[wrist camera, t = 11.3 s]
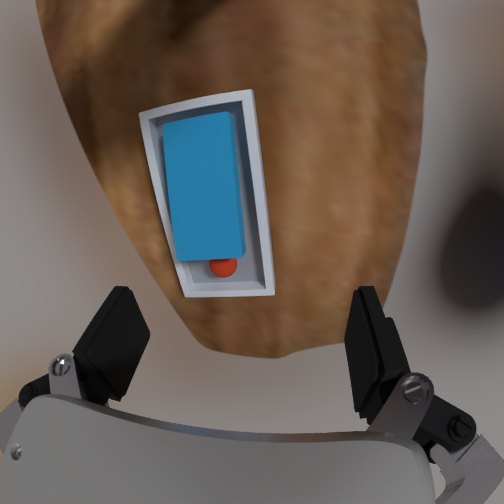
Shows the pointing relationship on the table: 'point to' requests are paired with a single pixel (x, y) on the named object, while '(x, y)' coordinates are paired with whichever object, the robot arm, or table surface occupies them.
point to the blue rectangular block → (205, 191)
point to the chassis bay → (251, 188)
